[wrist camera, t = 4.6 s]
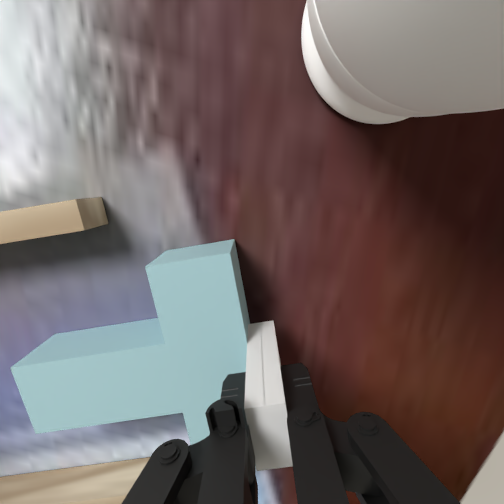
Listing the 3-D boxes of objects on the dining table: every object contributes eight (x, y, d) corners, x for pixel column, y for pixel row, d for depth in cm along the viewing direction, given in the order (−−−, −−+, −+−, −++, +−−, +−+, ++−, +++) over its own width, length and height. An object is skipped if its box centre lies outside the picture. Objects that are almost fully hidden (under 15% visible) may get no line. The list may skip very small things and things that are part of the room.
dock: (-152, 239, 17) (-218, 248, 15) (101, 197, 17) (75, 199, 14) (-32, 499, 21) (-69, 539, 19) (174, 472, 21) (164, 510, 18)
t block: (33, 272, 18) (-19, 293, 14) (234, 239, 17) (229, 252, 14) (91, 441, 20) (59, 493, 17) (267, 415, 20) (270, 464, 16)
